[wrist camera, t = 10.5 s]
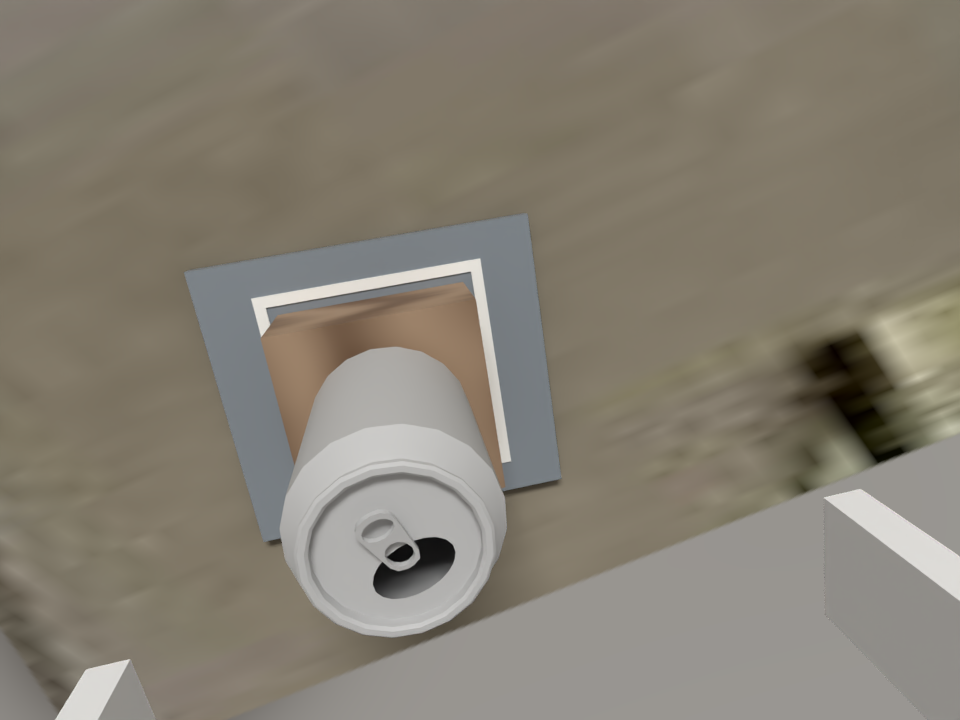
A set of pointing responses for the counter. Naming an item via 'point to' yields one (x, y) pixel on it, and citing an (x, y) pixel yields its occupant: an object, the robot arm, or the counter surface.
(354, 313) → the walnut block
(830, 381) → the counter surface
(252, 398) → the grey flat plate
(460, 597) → the can
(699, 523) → the counter surface
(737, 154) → the counter surface
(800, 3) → the counter surface
